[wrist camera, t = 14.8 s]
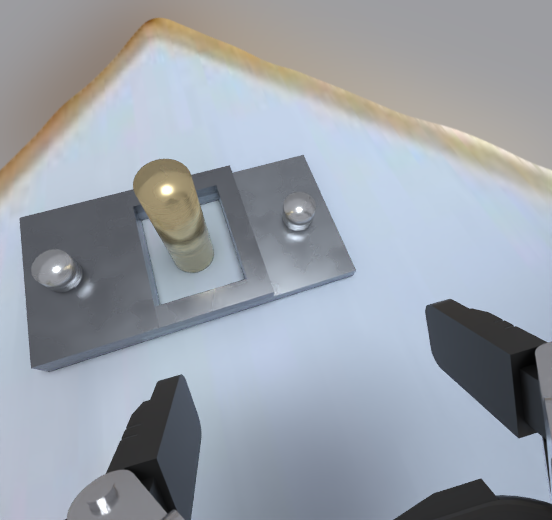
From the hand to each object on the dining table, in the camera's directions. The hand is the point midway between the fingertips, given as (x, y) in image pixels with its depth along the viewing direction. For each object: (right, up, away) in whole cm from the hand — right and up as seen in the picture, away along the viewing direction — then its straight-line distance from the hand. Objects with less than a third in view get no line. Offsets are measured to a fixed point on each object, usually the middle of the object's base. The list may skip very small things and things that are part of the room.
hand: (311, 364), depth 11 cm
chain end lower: (-5, +5, +22) cm, 23 cm away
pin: (-9, +4, +21) cm, 23 cm away
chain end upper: (-12, +3, +20) cm, 24 cm away
